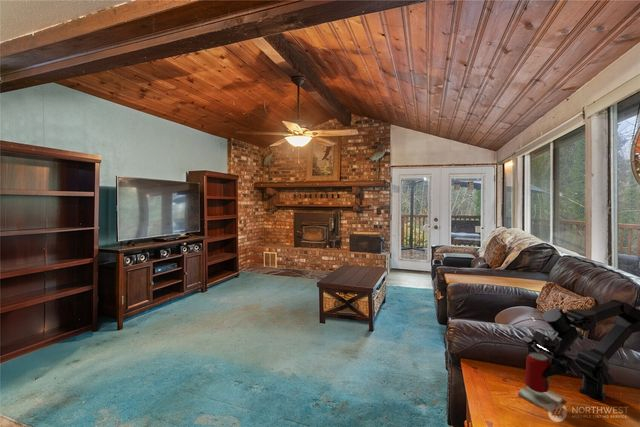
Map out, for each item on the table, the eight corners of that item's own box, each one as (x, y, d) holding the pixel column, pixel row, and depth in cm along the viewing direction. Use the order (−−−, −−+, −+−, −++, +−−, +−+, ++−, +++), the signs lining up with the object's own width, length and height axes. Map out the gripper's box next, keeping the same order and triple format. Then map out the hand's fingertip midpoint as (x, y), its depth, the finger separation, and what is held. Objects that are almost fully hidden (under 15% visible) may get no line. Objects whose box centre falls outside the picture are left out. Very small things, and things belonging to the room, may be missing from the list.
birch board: (529, 384, 113) (529, 381, 113) (563, 399, 105) (563, 396, 105) (516, 395, 106) (516, 392, 106) (551, 413, 97) (551, 409, 97)
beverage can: (553, 395, 101) (555, 361, 101) (533, 394, 102) (535, 360, 101) (539, 383, 108) (541, 351, 108) (520, 382, 108) (522, 350, 108)
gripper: (527, 314, 114) (500, 343, 113) (575, 336, 95) (544, 371, 94) (543, 333, 115) (517, 362, 114) (594, 358, 97) (564, 393, 96)
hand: (534, 370), depth 104 cm, fingers closed on beverage can, 7 cm apart
